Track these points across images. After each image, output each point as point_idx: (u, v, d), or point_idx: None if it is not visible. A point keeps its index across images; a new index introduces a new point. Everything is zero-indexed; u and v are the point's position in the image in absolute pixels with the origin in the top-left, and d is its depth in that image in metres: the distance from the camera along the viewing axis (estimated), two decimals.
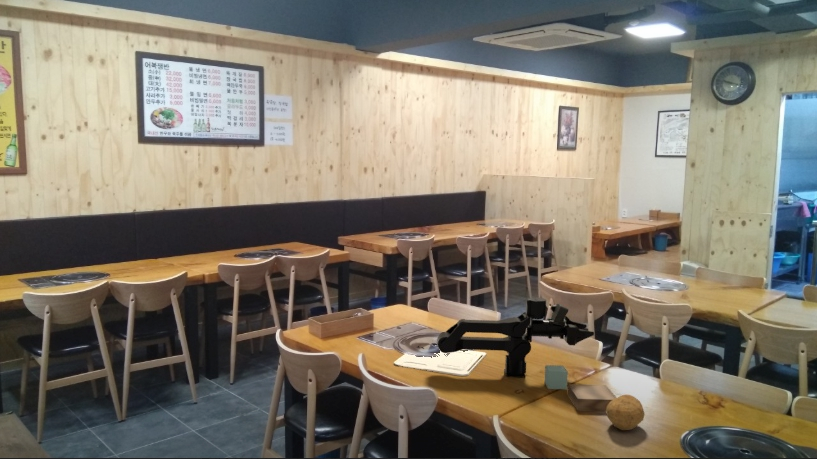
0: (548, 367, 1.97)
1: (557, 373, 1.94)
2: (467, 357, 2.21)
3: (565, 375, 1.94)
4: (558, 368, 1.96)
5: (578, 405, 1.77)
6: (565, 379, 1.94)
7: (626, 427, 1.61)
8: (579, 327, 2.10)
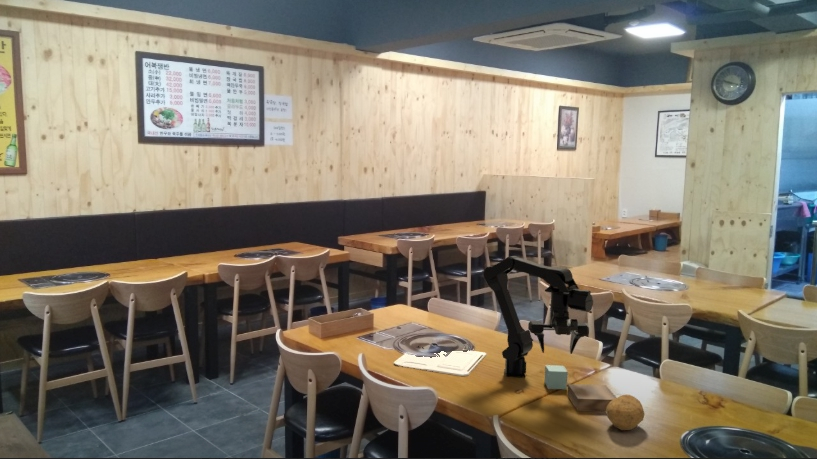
0: (548, 367, 1.97)
1: (557, 373, 1.94)
2: (467, 357, 2.21)
3: (565, 375, 1.94)
4: (558, 368, 1.96)
5: (578, 405, 1.77)
6: (565, 379, 1.94)
7: (626, 427, 1.61)
8: (570, 345, 1.96)
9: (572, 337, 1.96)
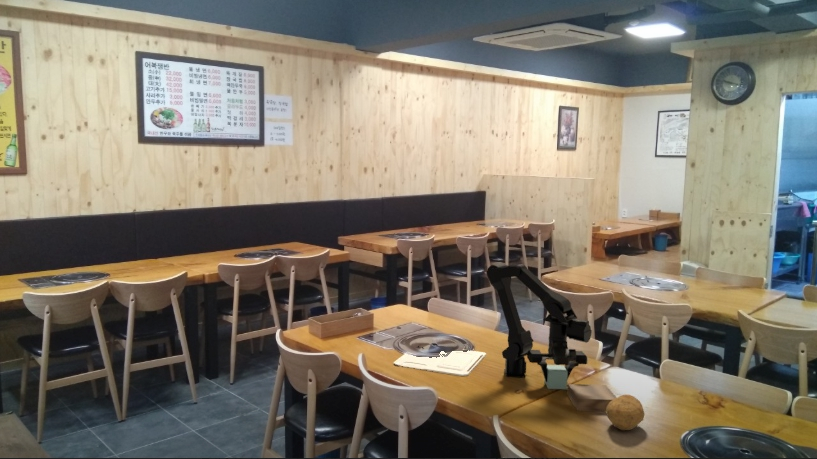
0: (548, 367, 1.97)
1: (557, 373, 1.94)
2: (467, 357, 2.21)
3: (565, 375, 1.94)
4: (558, 368, 1.96)
5: (578, 405, 1.77)
6: (565, 379, 1.94)
7: (626, 427, 1.61)
8: None
9: (566, 366, 1.97)
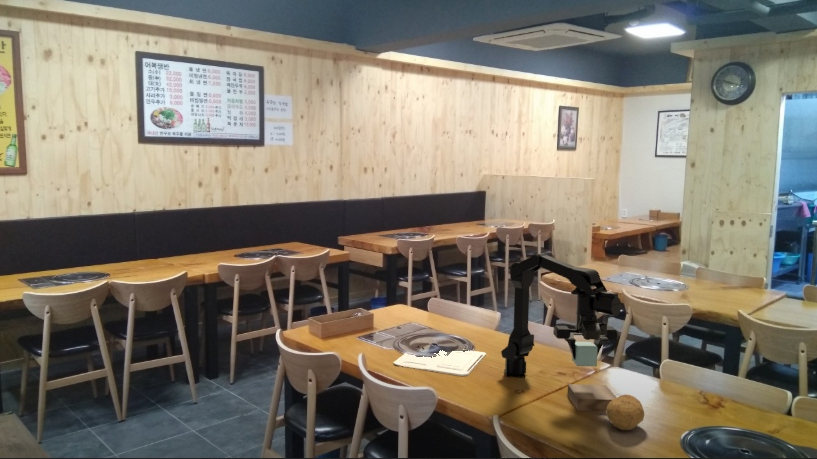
0: (576, 343, 1.86)
1: (587, 349, 1.82)
2: (467, 357, 2.21)
3: (595, 351, 1.82)
4: (587, 344, 1.85)
5: (578, 405, 1.77)
6: (595, 355, 1.82)
7: (626, 427, 1.61)
8: None
9: (596, 342, 1.85)
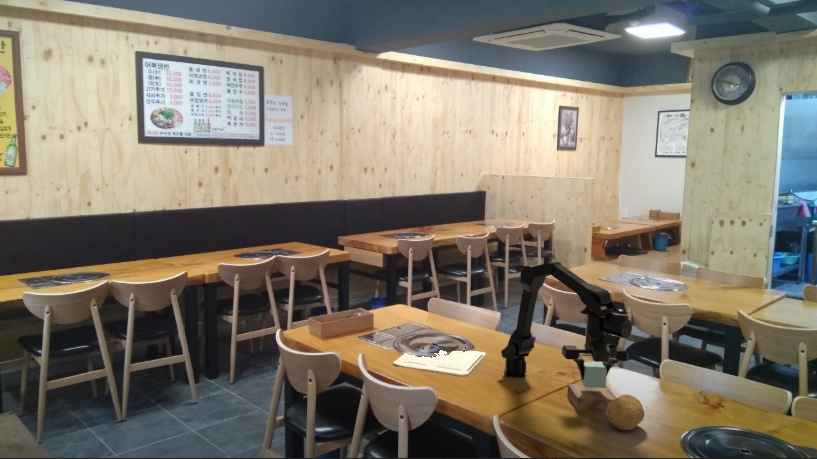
0: (585, 364, 1.83)
1: (596, 370, 1.79)
2: (467, 357, 2.21)
3: (604, 372, 1.79)
4: (595, 365, 1.82)
5: (578, 405, 1.77)
6: (604, 376, 1.79)
7: (626, 427, 1.61)
8: None
9: (605, 363, 1.82)
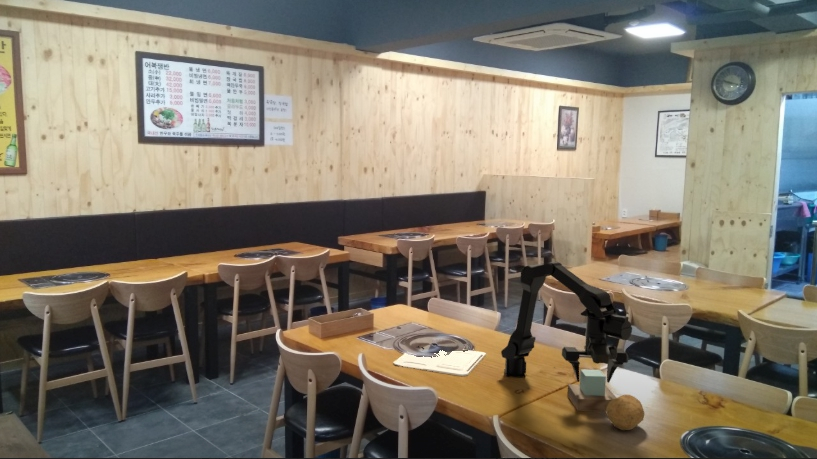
0: (584, 371, 1.83)
1: (595, 378, 1.79)
2: (467, 357, 2.21)
3: (603, 380, 1.79)
4: (595, 373, 1.82)
5: (578, 405, 1.77)
6: (603, 384, 1.80)
7: (626, 427, 1.61)
8: (607, 374, 1.83)
9: (609, 365, 1.82)
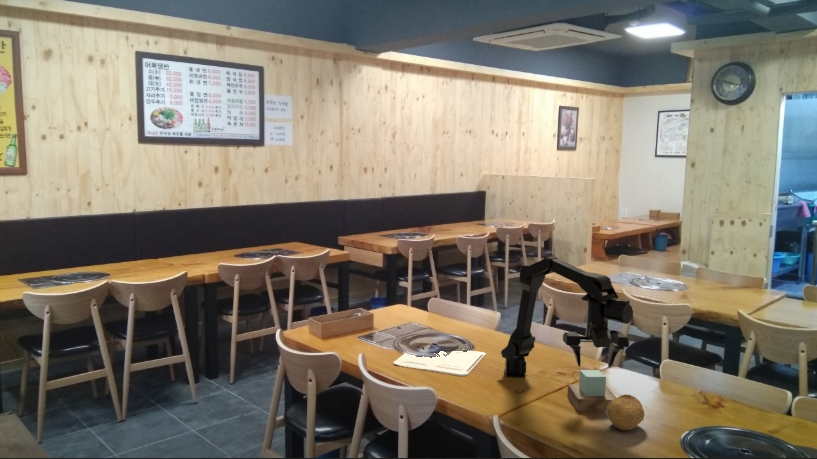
0: (584, 372, 1.83)
1: (595, 379, 1.79)
2: (467, 357, 2.21)
3: (603, 380, 1.79)
4: (594, 373, 1.82)
5: (578, 405, 1.77)
6: (603, 385, 1.79)
7: (626, 427, 1.61)
8: (608, 358, 1.82)
9: (610, 349, 1.82)
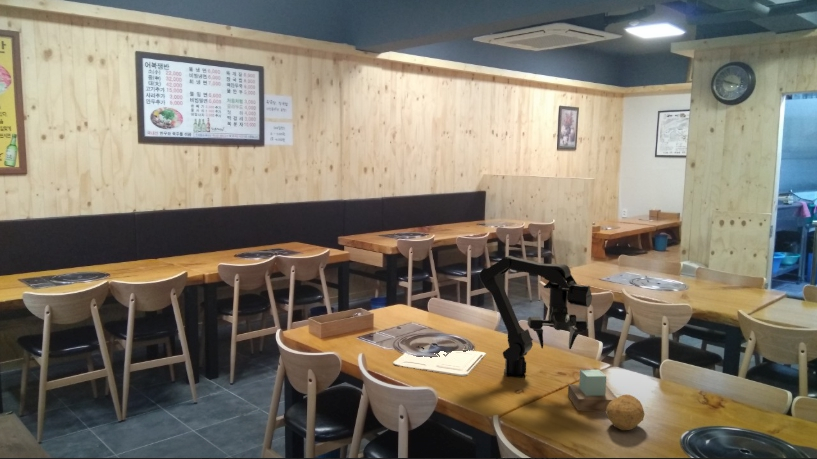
0: (584, 372, 1.83)
1: (595, 378, 1.79)
2: (467, 357, 2.21)
3: (604, 380, 1.80)
4: (595, 373, 1.82)
5: (579, 405, 1.77)
6: (604, 384, 1.80)
7: (626, 427, 1.61)
8: (569, 341, 1.98)
9: (571, 333, 1.98)
